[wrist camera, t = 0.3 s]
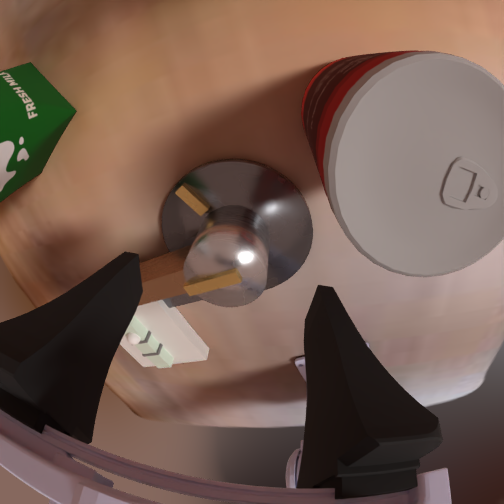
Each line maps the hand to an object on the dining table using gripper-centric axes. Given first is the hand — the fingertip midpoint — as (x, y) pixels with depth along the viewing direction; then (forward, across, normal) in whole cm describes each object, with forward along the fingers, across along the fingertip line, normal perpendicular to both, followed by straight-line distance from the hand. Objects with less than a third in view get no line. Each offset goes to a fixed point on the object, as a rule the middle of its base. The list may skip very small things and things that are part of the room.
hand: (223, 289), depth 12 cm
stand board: (+10, +8, +17) cm, 21 cm away
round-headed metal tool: (+9, +4, +6) cm, 12 cm away
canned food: (+10, -6, -6) cm, 14 cm away
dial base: (+10, +2, +4) cm, 11 cm away
